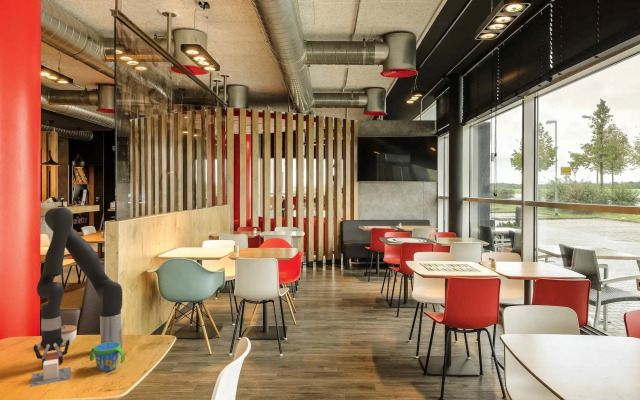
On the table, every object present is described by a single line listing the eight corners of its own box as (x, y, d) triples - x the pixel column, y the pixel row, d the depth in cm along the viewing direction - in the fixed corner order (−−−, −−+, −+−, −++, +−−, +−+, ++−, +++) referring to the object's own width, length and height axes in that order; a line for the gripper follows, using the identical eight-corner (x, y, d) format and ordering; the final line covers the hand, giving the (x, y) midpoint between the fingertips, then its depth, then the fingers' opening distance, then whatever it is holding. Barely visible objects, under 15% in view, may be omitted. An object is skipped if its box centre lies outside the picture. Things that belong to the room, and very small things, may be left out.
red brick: (59, 364, 200) (59, 351, 199) (59, 368, 195) (58, 355, 195) (46, 366, 197) (46, 353, 197) (45, 371, 193) (45, 357, 193)
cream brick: (58, 372, 188) (57, 358, 188) (57, 377, 184) (57, 362, 183) (44, 375, 186) (43, 361, 185) (43, 380, 181) (43, 365, 181)
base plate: (70, 369, 194) (70, 366, 194) (70, 381, 182) (70, 378, 182) (32, 376, 188) (32, 373, 188) (29, 389, 175) (29, 386, 175)
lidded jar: (59, 349, 219) (59, 330, 218) (48, 344, 225) (48, 326, 224) (81, 342, 228) (80, 324, 227) (70, 338, 234) (69, 320, 233)
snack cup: (131, 366, 196) (130, 343, 196) (113, 376, 186) (112, 352, 186) (102, 362, 201) (101, 340, 201) (83, 372, 191) (82, 348, 191)
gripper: (70, 322, 202) (71, 359, 203) (32, 327, 195) (34, 366, 196) (70, 327, 196) (71, 365, 196) (31, 332, 189) (32, 372, 189)
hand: (52, 365), depth 196 cm, fingers closed on red brick, 5 cm apart
